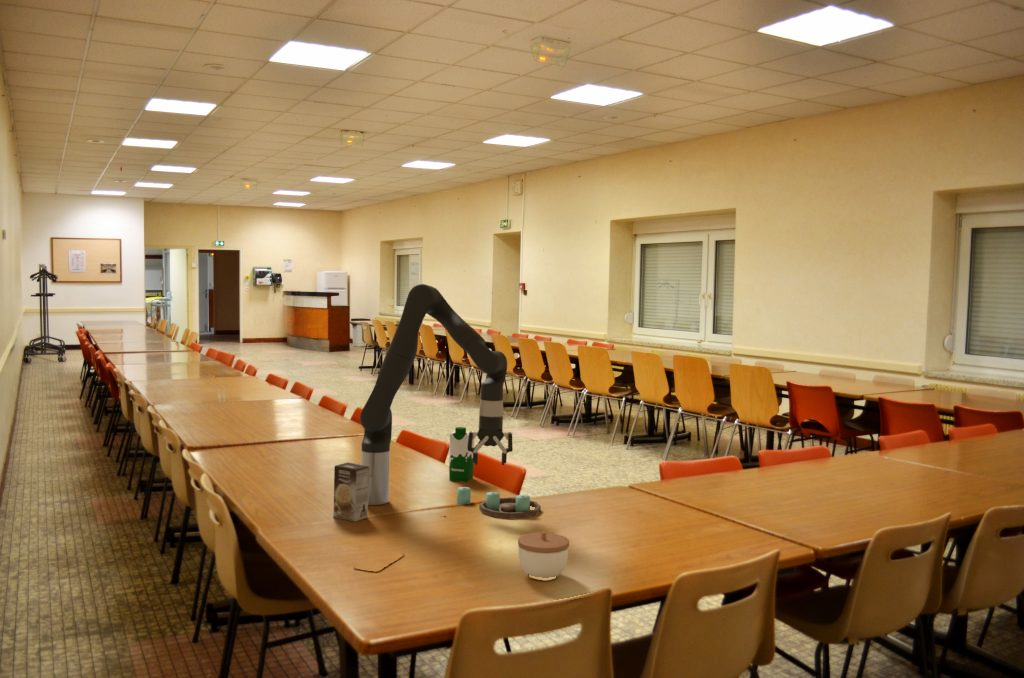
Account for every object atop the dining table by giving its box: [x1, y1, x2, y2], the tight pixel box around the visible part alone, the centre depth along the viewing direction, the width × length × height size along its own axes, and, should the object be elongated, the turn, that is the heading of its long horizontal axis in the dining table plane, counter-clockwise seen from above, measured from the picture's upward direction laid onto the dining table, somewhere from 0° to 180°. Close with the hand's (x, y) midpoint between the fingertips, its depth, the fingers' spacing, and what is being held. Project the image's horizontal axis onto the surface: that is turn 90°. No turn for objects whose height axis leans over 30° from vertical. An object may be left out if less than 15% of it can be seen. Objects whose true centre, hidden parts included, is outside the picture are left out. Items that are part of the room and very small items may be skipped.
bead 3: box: [515, 494, 531, 512], centre depth 244 cm, size 4×4×6 cm
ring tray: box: [478, 497, 542, 519], centre depth 248 cm, size 19×19×3 cm
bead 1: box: [456, 486, 472, 507], centre depth 257 cm, size 4×4×6 cm
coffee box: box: [333, 462, 369, 522], centre depth 238 cm, size 9×6×16 cm
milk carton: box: [448, 426, 475, 483], centre depth 293 cm, size 9×9×20 cm
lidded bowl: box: [517, 531, 570, 578], centre depth 191 cm, size 13×13×11 cm
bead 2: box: [485, 491, 501, 511], centre depth 247 cm, size 4×4×6 cm
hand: (489, 464), depth 246 cm, fingers open, 8 cm apart
